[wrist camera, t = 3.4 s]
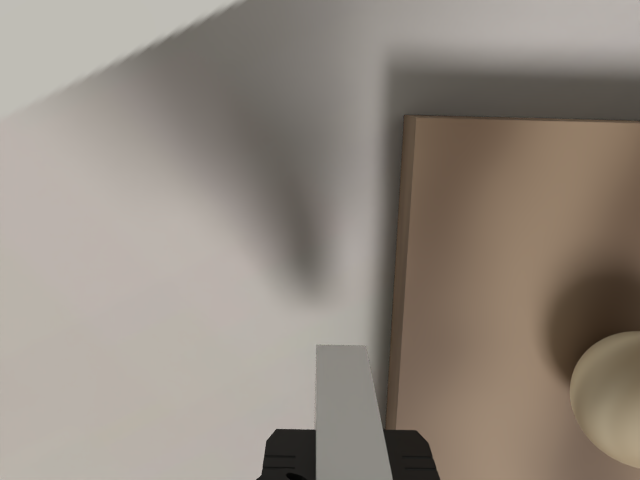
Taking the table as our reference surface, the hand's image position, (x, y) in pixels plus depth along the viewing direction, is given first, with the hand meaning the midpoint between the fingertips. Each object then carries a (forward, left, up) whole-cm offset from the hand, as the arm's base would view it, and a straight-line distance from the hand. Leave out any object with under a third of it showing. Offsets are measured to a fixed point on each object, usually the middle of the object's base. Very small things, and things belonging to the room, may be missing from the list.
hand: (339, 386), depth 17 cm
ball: (-9, 0, 0) cm, 9 cm away
